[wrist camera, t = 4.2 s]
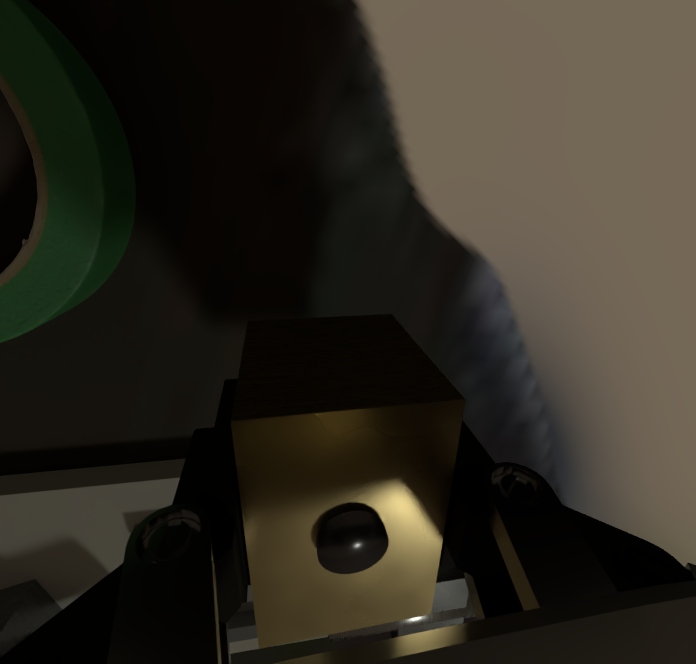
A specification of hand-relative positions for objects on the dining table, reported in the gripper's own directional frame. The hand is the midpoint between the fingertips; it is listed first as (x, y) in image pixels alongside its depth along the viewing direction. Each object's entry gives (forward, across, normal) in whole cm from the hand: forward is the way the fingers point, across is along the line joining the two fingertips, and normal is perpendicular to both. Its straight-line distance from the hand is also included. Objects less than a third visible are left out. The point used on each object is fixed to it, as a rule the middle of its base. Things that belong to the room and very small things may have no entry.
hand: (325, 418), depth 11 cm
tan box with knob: (+1, 0, 0) cm, 1 cm away
